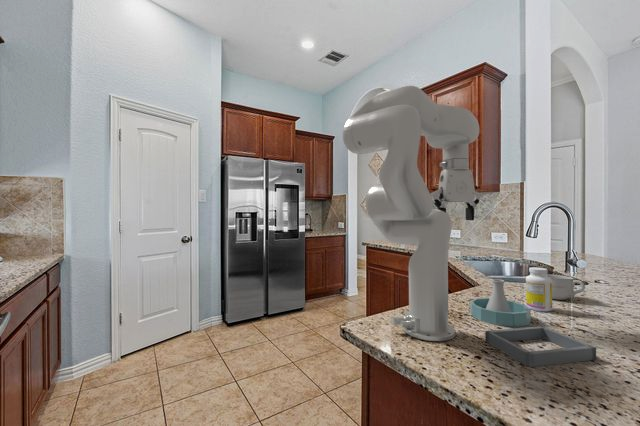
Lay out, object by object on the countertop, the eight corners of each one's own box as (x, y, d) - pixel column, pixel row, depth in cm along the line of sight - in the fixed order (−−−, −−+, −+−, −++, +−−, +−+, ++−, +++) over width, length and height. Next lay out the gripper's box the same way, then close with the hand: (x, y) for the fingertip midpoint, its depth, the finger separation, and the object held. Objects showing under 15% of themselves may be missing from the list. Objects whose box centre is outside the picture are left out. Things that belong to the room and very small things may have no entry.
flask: (518, 319, 82) (517, 283, 82) (489, 318, 83) (489, 282, 83) (506, 311, 89) (506, 278, 89) (480, 309, 90) (480, 277, 91)
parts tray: (529, 367, 58) (529, 354, 58) (485, 341, 70) (485, 330, 70) (596, 359, 61) (596, 347, 61) (542, 336, 73) (542, 326, 73)
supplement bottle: (541, 305, 97) (540, 266, 97) (558, 312, 90) (557, 270, 90) (521, 305, 97) (520, 266, 97) (536, 312, 90) (536, 270, 90)
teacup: (528, 295, 109) (528, 273, 109) (550, 292, 113) (549, 271, 113) (570, 306, 96) (570, 281, 96) (593, 303, 99) (592, 279, 99)
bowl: (496, 328, 78) (495, 314, 78) (460, 310, 92) (460, 299, 92) (543, 324, 80) (542, 311, 80) (501, 307, 95) (501, 296, 95)
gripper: (437, 163, 88) (437, 220, 88) (488, 165, 91) (489, 220, 91) (424, 167, 95) (424, 220, 95) (471, 168, 98) (472, 220, 98)
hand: (456, 220), depth 93 cm, fingers open, 9 cm apart
